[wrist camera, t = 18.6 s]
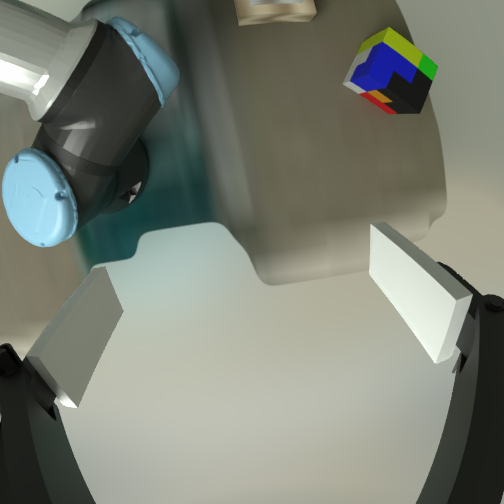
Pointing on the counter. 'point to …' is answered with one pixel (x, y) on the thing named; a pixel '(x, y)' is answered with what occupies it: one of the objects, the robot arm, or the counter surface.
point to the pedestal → (274, 11)
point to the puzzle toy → (391, 73)
